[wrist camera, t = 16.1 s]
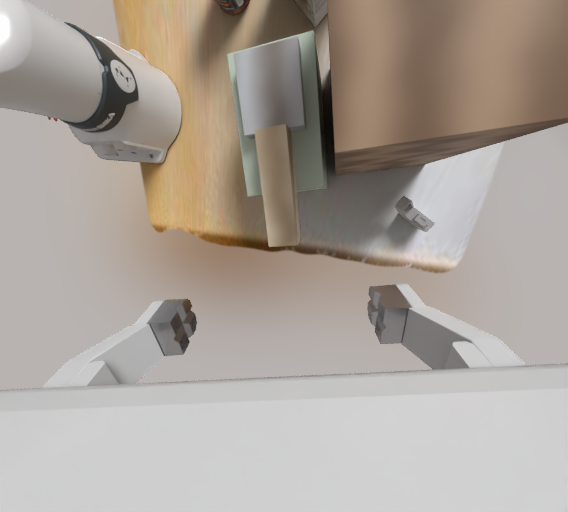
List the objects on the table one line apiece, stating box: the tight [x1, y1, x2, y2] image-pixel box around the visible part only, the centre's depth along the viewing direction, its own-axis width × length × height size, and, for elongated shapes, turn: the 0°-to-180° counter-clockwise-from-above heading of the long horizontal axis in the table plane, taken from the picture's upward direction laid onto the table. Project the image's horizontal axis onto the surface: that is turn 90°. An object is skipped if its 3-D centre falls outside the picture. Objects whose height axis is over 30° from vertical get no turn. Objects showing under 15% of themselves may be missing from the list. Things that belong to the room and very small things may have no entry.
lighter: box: [395, 196, 434, 232], centre depth 36 cm, size 7×2×8 cm, turn 54°
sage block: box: [227, 30, 328, 197], centre depth 34 cm, size 10×16×14 cm, turn 6°
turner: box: [233, 36, 307, 247], centre depth 27 cm, size 7×21×4 cm, turn 6°
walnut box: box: [327, 0, 568, 175], centre depth 24 cm, size 14×16×26 cm
